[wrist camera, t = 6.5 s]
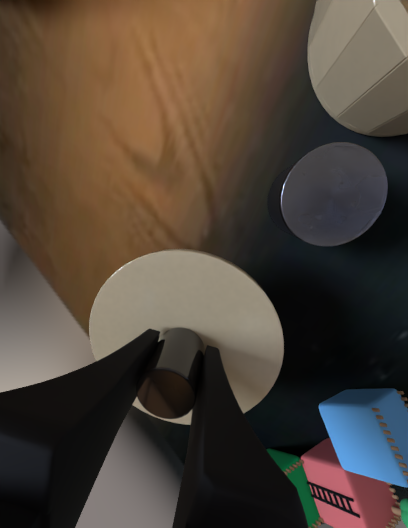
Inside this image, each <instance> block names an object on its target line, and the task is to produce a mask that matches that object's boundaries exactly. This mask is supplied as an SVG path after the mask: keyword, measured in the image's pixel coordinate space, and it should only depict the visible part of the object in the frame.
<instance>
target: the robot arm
mask: <svg viewBox="0 0 408 528" xmlns="http://www.w3.org/2000/svg"><path fill="white" fill-rule="evenodd" d="M159 336H160V331H157V330H154V329H148V330H146V331H145V332H143V333H142V334H141V335H139V336H138V337H136V338H135V339H134V340H132V341H131V342H129V343H127V344H126V345H124V346H123V347H121V348H120V349H118V350H116V351H115V352H113V353H111V354H109V355H108V356H106V357H104V358H102V359H100V360H98V361H96V362H94V363H92V364H90V365H88V366H86V367H83V368H81V369H78V370H76V371H73V372H71V373H68V374H65V375H63V376H60V377H57V378H54V379H51V380H47V381H45V382H41V383H37V384H34V385H30V386H26V387H22V388H18V389H14V390H10V391H6V392H1V393H0V528H75V526H76V524H77V522H78V519H79V517H80V515H81V512H82V510H83V508H84V505H85V503H86V501H87V499H88V496H89V494H90V492H91V489H92V487H93V485H94V482H95V480H96V478H97V476H98V473H99V471H100V469H101V467H102V465H103V462H104V460H105V458H106V456H107V454H108V451H109V449H110V447H111V445H112V443H113V441H114V438H115V436H116V434H117V432H118V430H119V428H120V426H121V424H122V422H123V420H124V418H125V417H126V415H127V413H128V411H129V410H130V408H131V406H132V404H133V403H134V401H135V399H136V397H137V394H136V384H137V381H138V379H139V377H140V375H141V373H142V371H143V370H144V368H145V366H146V364H147V362H148V360H149V358H150V356H151V355H152V353H153V351H154V349H155V347H156V345H157V343H158V340H159ZM173 528H309V527H308V523H307V519H306V515H305V512H304V509H303V505H302V502H301V500H300V497H299V494H298V490H297V488H296V487H295V485H294V484H293V483H292V482H291V480H290V479H289V478H288V477H287V476H286V474H285V473H284V472H283V471H282V470H281V468H280V467H279V466H278V465H277V463H276V462H275V461H274V460H273V458H272V457H271V456H270V454H269V453H268V451H267V450H266V449H265V447H264V446H263V445H262V443H261V442H260V440H259V438H258V437H257V435H256V434H255V432H254V431H253V429H252V428H251V426H250V424H249V423H248V421H247V419H246V417H245V416H244V414H243V412H242V410H241V408H240V406H239V404H238V402H237V400H236V398H235V396H234V393H233V391H232V389H231V386H230V384H229V381H228V378H227V375H226V373H225V370H224V366H223V363H222V359H221V355H220V351H219V349H218V348H216V347H212V346H209V345H207V347H206V350H205V354H204V358H203V363H202V369H201V376H200V382H199V387H198V393H197V398H196V403H195V405H194V407H193V409H192V417H191V426H190V435H189V443H188V450H187V456H186V461H185V466H184V472H183V477H182V482H181V487H180V492H179V497H178V502H177V508H176V512H175V517H174V522H173Z"/></svg>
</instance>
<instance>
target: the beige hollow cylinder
mask: <svg viewBox="0 0 408 528" xmlns="http://www.w3.org/2000/svg"><path fill="white" fill-rule="evenodd" d="M308 67H309V74H310V78H311V82H312V86H313V88H314V91H315V93H316V95H317V98H318V99H319V101H320V103H321V104H322V106H323V107H324V109H325V110H326V111H327V112H328V113H329V115H330V116H331V117H332V118H334V119H335V120H336V121H337V122H338V123H340V124H341V125H343V126H344V127H346V128H348V129H350V130H352V131H355V132H357V133H361V134H365V135H369V136H378V137H386V136H397V135H403V134H407V133H408V0H317V2H316V5H315V11H314V14H313V18H312V22H311V26H310V31H309V39H308Z"/></svg>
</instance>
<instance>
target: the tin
mask: <svg viewBox="0 0 408 528" xmlns="http://www.w3.org/2000/svg"><path fill="white" fill-rule="evenodd" d="M387 188H388V185H387V177H386V173H385V170H384V168H383V166H382V164H381V162H380V161H379V159H378V158H377V157H376V156H375V155H374V154H373V153H372V152H371V151H369V150H368V149H366V148H364V147H362V146H360V145H357V144H353V143H347V142H336V143H329V144H326V145H323V146H320V147H318V148H315V149H314V150H312V151H310V152H308V153H307V154H306V155H304V156H303V157H302V158H300V159H299V160H298V161H297V162H296V163H294V164H293V165H291V166H290V167H289V168H287V169H286V170H284V171H283V172H282V173H281V174H280V175H279V176H278V177H277V178H276V179H275V181H274V183H273V184H272V186H271V188H270V191H269V195H268V210H269V214H270V217H271V219H272V220H273V222H274V223H275V224H276V225H277V226H278V227H279V228H280V229H281V230H283V231H285V232H287V233H289V234H291V235H293V236H296V237H297V238H299V239H300V240H302V241H304V242H307V243H309V244H312V245H316V246H336V245H341V244H344V243H347V242H349V241H352V240H354V239H355V238H357V237H359V236H360V235H362V234H363V233H364V232H366V231H367V230H368V229H369V228H370V227H371V226H372V225H373V223H374V222H375V221H376V220H377V218H378V217H379V215H380V213H381V211H382V209H383V207H384V204H385V201H386V197H387Z"/></svg>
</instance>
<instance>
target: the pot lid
mask: <svg viewBox="0 0 408 528" xmlns="http://www.w3.org/2000/svg"><path fill="white" fill-rule="evenodd" d="M148 329H154V330H157V331H160V336H159V340H158V343H157V345H156V347H155V349H154V351H153V353H152V355H151V356H150V358H149V360H148V362H147V364H146V366H145V368H144V370H143V371H142V373H141V375H140V377H139V379H138V381H137V384H136V394H137V397H136V399H135V401H134V403H133V404H132V405H133V406H135V407H137V408H138V409H140V410H142V411H143V412H145V413H147V414H150V415H152V416H154V417H157V418H160V419H162V420H166V421H170V422H173V423H179V424H186V425H191V417H192V409H193V407H194V405H195V403H196V398H197V393H198V387H199V382H200V376H201V369H202V363H203V358H204V354H205V350H206V347H207V345H209V346H212V347H216V348H218V349H219V351H220V355H221V359H222V363H223V366H224V370H225V373H226V375H227V378H228V381H229V384H230V386H231V389H232V391H233V393H234V396H235V398H236V400H237V402H238V404H239V406H240V408H241V410H242V412H243V413H245V412H247V411H248V410H250V409H251V408H253V407H254V406H255V405H256V404H258V403H259V402H260V401H261V400H262V399H263V398H264V397H265V396H266V395H267V393H268V392H269V391H270V389H271V388H272V387H273V385H274V383H275V381H276V379H277V377H278V375H279V372H280V369H281V366H282V361H283V355H284V338H283V331H282V326H281V323H280V320H279V317H278V314H277V312H276V310H275V308H274V306H273V304H272V302H271V300H270V299H269V297H268V296H267V294H266V293H265V291H264V290H263V289H262V287H261V286H260V285H259V284H258V283H257V282H256V281H255V280H254V279H253V278H252V277H251V276H250V275H249V274H247V273H246V272H245V271H244V270H242V269H241V268H239V267H238V266H236V265H235V264H233V263H231V262H229V261H227V260H225V259H223V258H221V257H218V256H215V255H212V254H209V253H207V252H202V251H197V250H190V249H167V250H161V251H156V252H152V253H149V254H146V255H143V256H140V257H138V258H136V259H134V260H132V261H131V262H129V263H127V264H125V265H124V266H122V267H121V268H120V269H118V270H117V271H116V272H115V273H114V274H113V275H112V276H111V277H110V278H109V279H108V280H107V281H106V282H105V284H104V285H103V286H102V288H101V289H100V291H99V293H98V295H97V297H96V299H95V301H94V304H93V307H92V310H91V316H90V323H89V335H90V343H91V347H92V351H93V355H94V357H95V360H96V361H98V360H100V359H102V358H104V357H106V356H108V355H109V354H111V353H113V352H115V351H116V350H118V349H120V348H121V347H123V346H124V345H126V344H127V343H129V342H131V341H132V340H134V339H135V338H136V337H138V336H139V335H141V334H142V333H143V332H145V331H146V330H148Z"/></svg>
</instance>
